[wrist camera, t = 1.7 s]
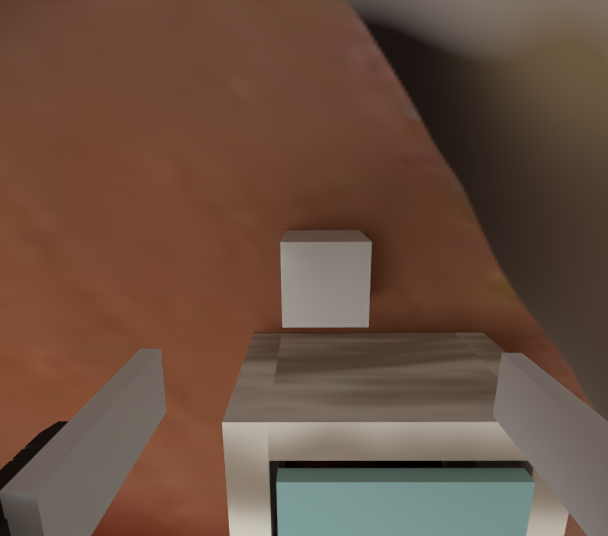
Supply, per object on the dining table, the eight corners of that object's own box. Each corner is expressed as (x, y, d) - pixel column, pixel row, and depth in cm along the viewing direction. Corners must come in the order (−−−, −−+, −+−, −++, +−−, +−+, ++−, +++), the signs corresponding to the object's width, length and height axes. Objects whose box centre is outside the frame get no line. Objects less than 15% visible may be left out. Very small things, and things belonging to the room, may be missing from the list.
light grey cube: (285, 230, 30) (280, 242, 24) (359, 229, 30) (371, 241, 24) (286, 299, 31) (282, 327, 25) (357, 299, 31) (368, 327, 25)
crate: (253, 333, 32) (220, 427, 20) (483, 332, 32) (592, 426, 19) (261, 518, 36) (238, 686, 24) (461, 518, 36) (538, 687, 24)
